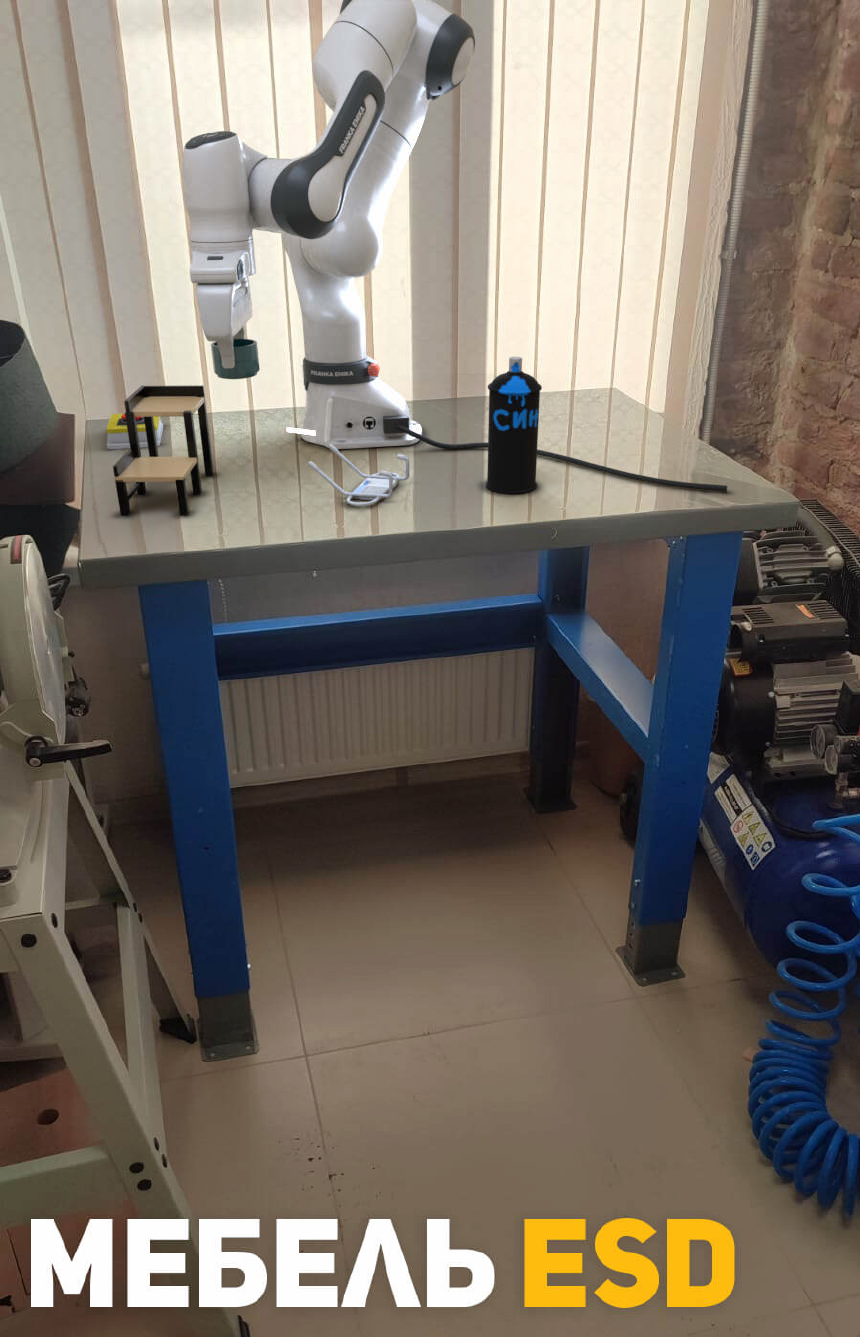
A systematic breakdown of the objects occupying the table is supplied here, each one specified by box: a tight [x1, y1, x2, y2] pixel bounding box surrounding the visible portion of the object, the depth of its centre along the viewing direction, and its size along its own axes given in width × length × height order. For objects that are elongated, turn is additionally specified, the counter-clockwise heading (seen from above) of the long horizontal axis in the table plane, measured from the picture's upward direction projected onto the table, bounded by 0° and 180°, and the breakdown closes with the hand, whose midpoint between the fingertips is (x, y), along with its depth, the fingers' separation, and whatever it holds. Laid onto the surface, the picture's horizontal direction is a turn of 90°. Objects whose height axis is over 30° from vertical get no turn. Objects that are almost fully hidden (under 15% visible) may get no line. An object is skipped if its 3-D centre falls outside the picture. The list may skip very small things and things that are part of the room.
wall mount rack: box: [307, 444, 410, 507], centre depth 157 cm, size 16×14×6 cm
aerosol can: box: [485, 356, 543, 495], centre depth 155 cm, size 8×8×20 cm
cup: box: [210, 338, 260, 380], centre depth 148 cm, size 7×7×5 cm
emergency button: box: [105, 413, 164, 450], centre depth 186 cm, size 9×4×15 cm
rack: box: [112, 385, 215, 517], centre depth 154 cm, size 10×20×15 cm, turn 0°
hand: (234, 361), depth 148 cm, fingers closed on cup, 6 cm apart
